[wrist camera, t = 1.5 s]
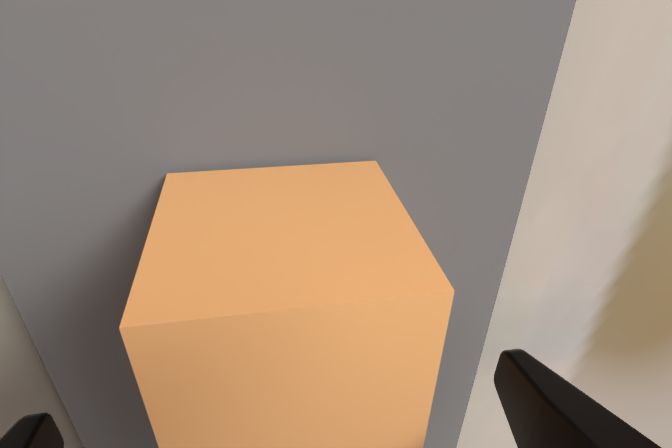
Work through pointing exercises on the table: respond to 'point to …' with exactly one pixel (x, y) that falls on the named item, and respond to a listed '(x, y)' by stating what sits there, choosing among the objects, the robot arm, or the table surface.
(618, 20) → the table surface
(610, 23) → the table surface
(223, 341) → the peach cube cap
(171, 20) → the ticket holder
